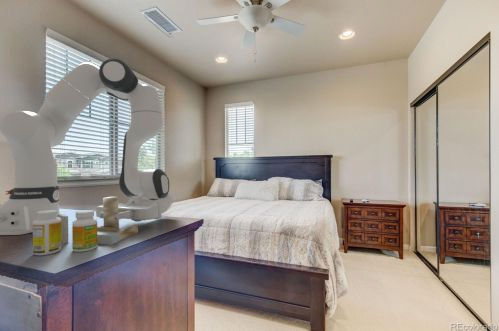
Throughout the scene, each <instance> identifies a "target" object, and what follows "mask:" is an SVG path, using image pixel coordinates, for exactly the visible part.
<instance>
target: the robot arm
mask: <svg viewBox="0 0 499 331" xmlns="http://www.w3.org/2000/svg"><path fill="white" fill-rule="evenodd" d="M103 93H106V94H107V95H110V96H111V97H114V98H116V99H118V100H121V101H128V102H129V105H130V115H131V116H130V123H129V128H128V130H126V132H125V133H124V137H123V146H122V161H121V172H120V176H119V180H118V187H119V190H120V191H121V192H122V194H124V195H125V196H126V197H130V198H129V199H128V200H127V202H126V203H118V210H119V212H118V213H115V214H114V216H115V217H114V219H119V220H122V219H124V220H125V219H127V220H132V221H134V222H136V223H137V222H142V221H151V220H159V219H161V218H162V214H164V213H166V212H167V211H168V210H169V209H171V207H172V205H173V197H172V195H171V193H170V192H169V191H170V179H169V177H168V175H167V174H166V172H165V171H164V170H162V168H161V169H160V168H152V169H138V166H139V154H140V149H141V147H142V146H143V145H144V144H145V143H146V142H148V141H149V140H151V139H153V138H155V137H156V136H157V135H158V134H159V133H160V132H161V131H162V128H163V124H164V123H163V110H162V102H161V100H160V95H159V92H158V90H157V89H156V88H155V87H154V86H151V85H149V84H144V83H143V84H141V83H140V82H139V78H138V77H137V75H136V74H135V73H134V71H133V69H132V67H130V66H129V65H128V64H127V63H126V62H125V61H123V60H121V59H118V58H107V59H105V60H104V61H103V62H102V63H101V64H100V66H97V65H95V64H93V63H91V62H83V63H80V64H78V65H77V66H76V67H74V68H73V69H72V70H70V71H68V72H67V73H66V74H65V75H64V76H63V77H62V78H61V79H60V80H58V82H57V83H55V85H54V86H53V87H52V88H51V89H49V90H48V91H47V92H46V93H45V96H44V100H43V104H42V106H41V107H40V108H39V110H38V111H37V113H36V112H33V111H28V110H15V111H10V112H7V113H6V114H4V115H3V116H2V117H1V119H0V133H1V134H2V135H3V136H4V138H5V139H6V140H7V143H8V145H9V149H10V151H11V155H12V158H13V163H14V177H15V178H14V181H15V182H14V188H12V189H10V190H5V195H9V197H8V199H7V200H5V201H4V202H3V203H2V204H0V236H21V235H25V234H26V235H27V234H30V233H33V222H34V221H35V220H37V212H39V211H45V210H57V213H60V214H61V211H60V206H59V202H60V201H59V200H60V186H59V185H58V164H57V161H56V160H55V158H54V154H53V150H52V148H53V147H58V146H59V145H61V144H62V143H64V141H65V138H66V134H67V133H68V132H69V131H70V128H72V125H73V123H74V122H75V120H76V119H77V118H78V117H79V116H80V115H81V113H82V112H83V111H84V110H85V109H86V108H88V106H89V105H90V104H91V103H92V102H93V101H94V100H95V99H96V98H97V97H98V96H99V95H100V94H103ZM95 209H96V210H95V216H96V218H99V219H103V220H104V217H103V204H101V205H98V206H96V208H95Z"/></svg>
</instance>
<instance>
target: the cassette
mask: <svg viewBox="0 0 499 331" xmlns="http://www.w3.org/2000/svg"><path fill="white" fill-rule="evenodd" d="M57 214H58V215H57V217H59V218H61V227H62V244H64V245H67V244H69V216H68V215H66V214H62V213H61V212H60V213H57Z"/></svg>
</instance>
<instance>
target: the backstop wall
mask: <svg viewBox="0 0 499 331" xmlns="http://www.w3.org/2000/svg"><path fill="white" fill-rule="evenodd" d="M120 241H121V240H120V233H118V232H104V231H97V245H98V244H99V245H111V246H112V245H115V244H116V243H119V242H120Z"/></svg>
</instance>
